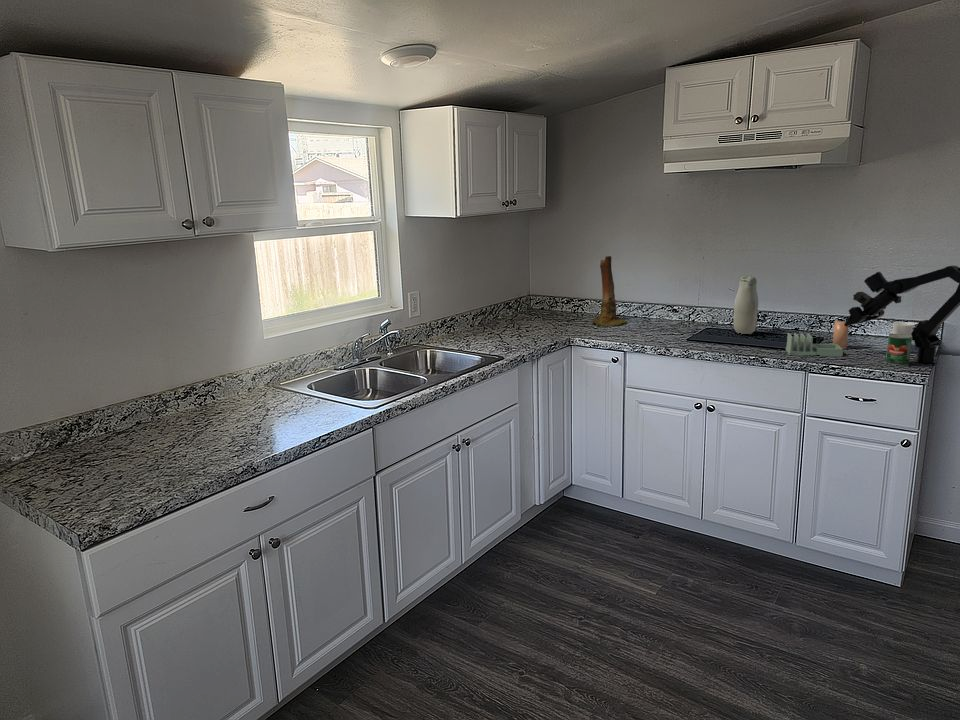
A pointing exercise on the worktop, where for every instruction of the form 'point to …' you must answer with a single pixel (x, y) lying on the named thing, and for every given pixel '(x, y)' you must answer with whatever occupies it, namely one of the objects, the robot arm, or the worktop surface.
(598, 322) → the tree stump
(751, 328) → the glass bottle
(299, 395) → the worktop surface
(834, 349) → the dish rack
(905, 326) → the white cup
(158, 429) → the worktop surface
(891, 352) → the canned tomato
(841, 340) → the orange rounded blob
